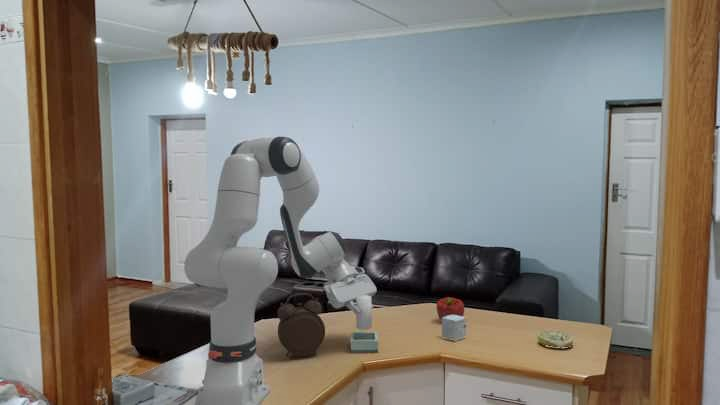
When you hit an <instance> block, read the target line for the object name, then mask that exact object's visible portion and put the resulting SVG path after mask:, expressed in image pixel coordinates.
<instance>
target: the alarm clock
mask: <svg viewBox="0 0 720 405" xmlns="http://www.w3.org/2000/svg"><path fill="white" fill-rule="evenodd" d="M299 296H309V297H311V299H309V300H307V301H306V302H305V303H304V305H303V302H297V306H299V307H295V306H294V304H292V303H289V302H290V300H291V299H292V298H295V297H299ZM322 311H323V306H322V303H321V302H320V301H319V298H318V297H316V298H315V297H314V296H313V294H311V293H307V292H301V293H293V294H291V295H289V296H288V297H287V299H286V301H285V303H283V302H281V303H280V306H279V307H278V309H277V311H276V312H277V317H278V320H279V323H278V325H277V336H278V339H279V341H280V343H281V345H282V347H283V348H284V350H286V351H287V353H286V354H285V356H286V357H289V354H290V357H289V359H293V357H294V356H299V357H303V356H304V357H305V356H308V355H310V354H312V353H314V355H315V356H317V354H318V353H317V352H316V351H317V350H318V349H319V348H320V347H321V346H322V344H323V342H324V339H325V335H326V326H325V323H324V321H323V319H322V318H321V317H320V315H321V314H322Z"/></svg>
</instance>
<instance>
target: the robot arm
mask: <svg viewBox="0 0 720 405" xmlns="http://www.w3.org/2000/svg"><path fill="white" fill-rule="evenodd" d="M220 172H221V173H220V176H219V180H218V187H217V193H216V194H217V195H216V202H215V208H214V214H213V219H212V222H211V225H210V228H209V230H208V232H207V233H206V235H204V237H203V239H202V240H201V241H200V243H199V244H198V245H196V246H195V247H194V248H192V249H191V250H190V251H189V252H188V253H187V255H186V257H185V260H184V264H183V266H184V267H183V268H184V273H185V276H186V278H187V280H189V281H190V282H191V283H194V284H197V285H200V286H202V287H208V288H220V289H227V297H226V300H224V301H222V302H221V303H219V304H217V305H216V306H215V307H214V308H213V309H212V312H211V314H210V337H211V338H210V339H211V340H210V341H209V347H208V353H207V354H208V355H207V356H208V359H206V366H205V372H204V378H203V379H202V382H201V383H202V386H201V387H199V388H198V391H197V396H196V399H195V403H194V405H260V404H261V402H262V401H263V400H264V399H265V398H266V397H267V395H268V394H269V392H270V391H271V387H270V385H267V384H266V383H265V382H264V381H265V380H264V369H263V368H264V367H263V360H262V358H260V356H259V355H258V354H257V346H258V345H257V338H256V336H255V313H256V311H255V310H256V308H257V304H258V301H259V299H260V297H261V296H262V294H263V292H265V291H266V290H267V289H268V288H270V287H271V286H272V285H273V284H274V282H275V280H276V278H277V276H278V273H279V265H278V260H277V257H276V256H275V255H274V253H273V252H271V251H270V250H267V249H263V248H259V247H255V246H238V243H239V240H240V239H241V237H242V236H243V235H244V234H245V233H248V232H250V231H251V230H253V229H254V227H255V226H256V225H257V222H258V215H259V206H260V205H259V204H260V194H261V180H262V178H263V177H264V178H271V177H275V176H276V178H277V181H278V184H279V186H280V189H281V190H282V195H283V199H282V200H283V201H282V205H281V206H280V208H279V214H280V219H281V224H282V227H283V232H284V236H285V239H286V243H287V246H288V250H289V255H290V261H291V266H292V269H293V270H294V273H296V274H297V276H298V277H299V278H303V279H312V278H313V277H315V276H316V275H318V274H319V273H320V272H321V271H322V272H323V274H324V275H325V279H326V280H327V281H326V282H324V284H323V286H322V287H323V290H324V291H325V294H326V297H327V299H328V301H329V302H330V304H331V306H332V307H333V308H334V309H335V310H336V309H340V308H344V307H347V308H348V309H349V310H350V311H352V312H353V313H354V315H355V316H356V315H359V314H360V313H361V312H362V311H361V310H360V308H359V307H358V308H357V307H356V298H357V297H360V296H363V295H368V296H371V298H372V297H374V295H375V294H376V293H377V292H378V290H377V287H376V285H375V283H374V281H372V279H371V278H370V277H369V275H367V274H366V273H365V270H364V267H359V266H353V265H350V264H349V262H348V261H346V260H345V258H344V257H345V256H346V253H347V249H348V245H347V243H346V242H345V240H344V239H343V237H342V236H341V234H340V233H338V232H334V231H328V232H326V233H323V234H322V235H318V236H316V237H314V238H312V239H311V241H310V242H309V243H307V244H306V245H304V244H303V241H302V237H301V234H300V229H299V227H300V222H301V221H302V219H303V218H304V217H305V215H306V214H307V212H308V211H309V210H310V209H311V208H312V207H313V206H314V205H315V203H316V201H317V200H318V197H319V194H320V185H319V182H318V179H317V177H316V174H315V172H314V169H313V168H312V166H311V163H310V162H309V159H307V157H306V156H305V154H304V153H303V151H302V149H301V148H300V147H299V146H298V144H297V143H296V141H294V139H292V138H290V137H288V136H287V137H286V136H276V137H258V138H253V139H251V140H245V141H242V142H239V143H238V144H236V145H235V146H233V148H232V151H231V153H230V155H229V156H228V157H227V158H226V159H225V160H224V162H223V166H222V169H221V171H220ZM371 304H372V310H373V309H374V308H375V307H374V305H373V303H372V302H371Z"/></svg>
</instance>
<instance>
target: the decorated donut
mask: <svg viewBox="0 0 720 405" xmlns="http://www.w3.org/2000/svg"><path fill="white" fill-rule="evenodd" d="M537 339H538V342H539V343H540V342H541V343H542V344H544V345H548V346H553V347H560V348H562V347H569V346H571V345H572V344H574V343H573V341H574V338H573V337H572V336H570V335H569V334H568V333H564V332H560V331H557V330H545V331H542V332H539V334H538V335H537ZM541 343H540V344H541ZM572 346H573V345H572Z"/></svg>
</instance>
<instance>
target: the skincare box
mask: <svg viewBox="0 0 720 405" xmlns="http://www.w3.org/2000/svg"><path fill="white" fill-rule="evenodd" d="M464 336H466V337H467V317H466V316H463V317H462V316H458V315H454V314H452V315H448V316H445V317H442V321H441V338H442V337H445V338H448V339H453V340H457V339H459V338H462V337H464Z"/></svg>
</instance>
